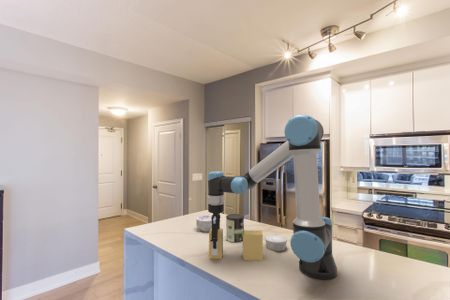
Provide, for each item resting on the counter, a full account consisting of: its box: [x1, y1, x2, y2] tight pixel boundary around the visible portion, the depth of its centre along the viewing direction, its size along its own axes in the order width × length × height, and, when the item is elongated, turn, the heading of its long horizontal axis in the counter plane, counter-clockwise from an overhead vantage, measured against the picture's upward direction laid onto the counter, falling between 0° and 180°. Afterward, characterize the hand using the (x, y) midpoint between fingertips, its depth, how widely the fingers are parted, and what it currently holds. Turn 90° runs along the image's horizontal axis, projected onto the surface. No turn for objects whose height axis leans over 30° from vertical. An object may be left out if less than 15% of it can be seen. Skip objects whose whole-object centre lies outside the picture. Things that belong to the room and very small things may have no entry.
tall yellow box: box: [242, 229, 264, 261], centre depth 110 cm, size 9×6×12 cm, turn 86°
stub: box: [208, 228, 224, 260], centre depth 111 cm, size 6×6×12 cm
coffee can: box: [225, 213, 245, 244], centre depth 133 cm, size 10×10×14 cm
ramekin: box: [264, 234, 288, 253], centre depth 123 cm, size 11×11×5 cm
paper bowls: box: [195, 214, 213, 233], centre depth 153 cm, size 15×15×8 cm
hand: (215, 250), depth 111 cm, fingers open, 8 cm apart
